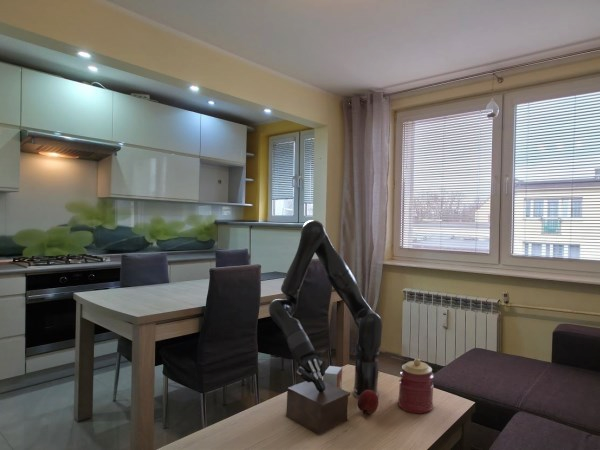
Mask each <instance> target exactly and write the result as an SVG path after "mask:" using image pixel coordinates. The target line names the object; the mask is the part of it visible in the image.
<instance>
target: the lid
mask: <svg viewBox="0 0 600 450" xmlns="http://www.w3.org/2000/svg"><path fill="white" fill-rule="evenodd" d="M323 382H324V381H323ZM324 384H325V390H324V391H322V392H319V391H318V390H317V389H316V387H315V385H314V383H313V382H309V383H308V382H307V381H305V380H304V381H303V382H299V383H297V384H294V385H291V386H288V387H287V390H288V391H290V392H292V393H294V394H296V395H298V396H300V397H302V398H304V399H306V400H308V401H310V402H312V403H314V404H316V405H318V406H321V407H325V406H327V405H330V404H332V403H334V402H336V401H338V400H340V399H343V398H345V397H347V396H348V397H349V396H351V392H349V391H347V390H345V389H342V388H341V389H340V388H338V387H336V386H333V385H331V384H329V383H326V382H324Z"/></svg>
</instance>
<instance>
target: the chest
mask: <svg viewBox="0 0 600 450" xmlns="http://www.w3.org/2000/svg"><path fill="white" fill-rule="evenodd" d="M286 394H287V395H286V414H285V416H286V417H287V418H289V419H290V420H292V421H294V422H296V423H298V424H300V425H301V426H303V427H305V428H307V429H309V430H310V431H312V432H314V433H315V434H317V435H322V434H324V433H326V432H327V431H330V430H331V429H333V428H336V427H337V426H339V425H341V424H342V423H344V422H346V421H348V407H349V405H348V404H349V396H347V397H345V398H343V399H340V400H338V401H336V402H334V403H332V404H330V405H327V406H325V407H321V406H318V405H316V404H314V403H312V402H310V401H308V400H306V399H304V398H302V397H300V396H298V395H296V394H294V393H292V392H290V391H288V390H287V393H286Z"/></svg>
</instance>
